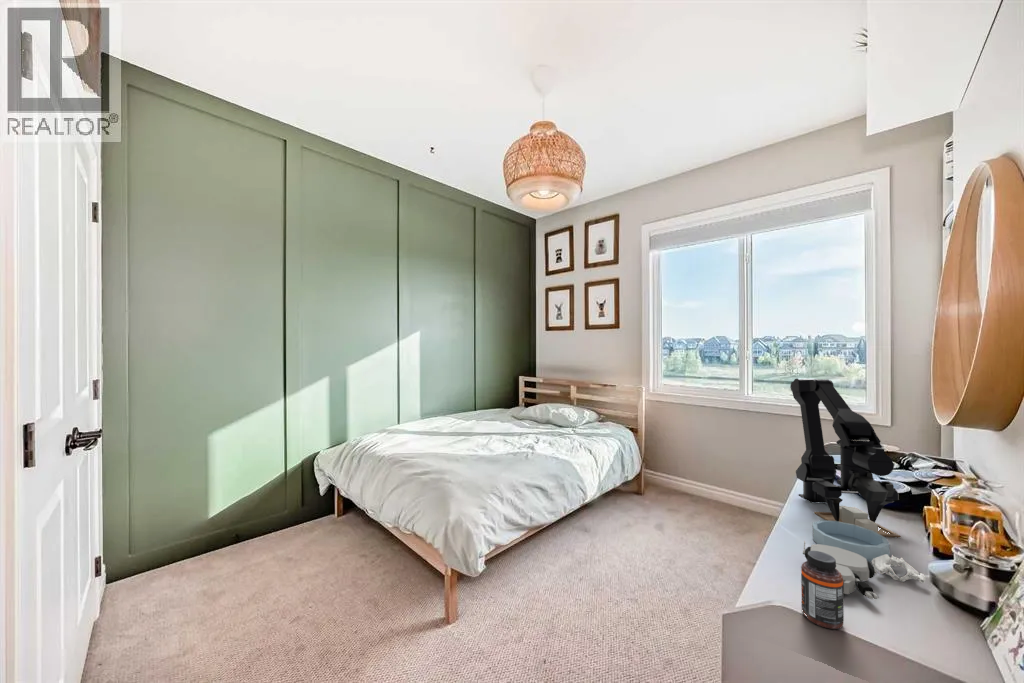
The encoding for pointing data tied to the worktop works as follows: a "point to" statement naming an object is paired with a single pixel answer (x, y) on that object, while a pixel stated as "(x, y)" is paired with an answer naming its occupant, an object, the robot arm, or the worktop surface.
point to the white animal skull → (883, 566)
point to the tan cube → (841, 511)
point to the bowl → (850, 538)
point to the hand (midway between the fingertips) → (854, 521)
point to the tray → (829, 517)
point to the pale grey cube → (867, 524)
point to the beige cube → (852, 514)
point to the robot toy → (849, 568)
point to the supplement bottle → (822, 590)
